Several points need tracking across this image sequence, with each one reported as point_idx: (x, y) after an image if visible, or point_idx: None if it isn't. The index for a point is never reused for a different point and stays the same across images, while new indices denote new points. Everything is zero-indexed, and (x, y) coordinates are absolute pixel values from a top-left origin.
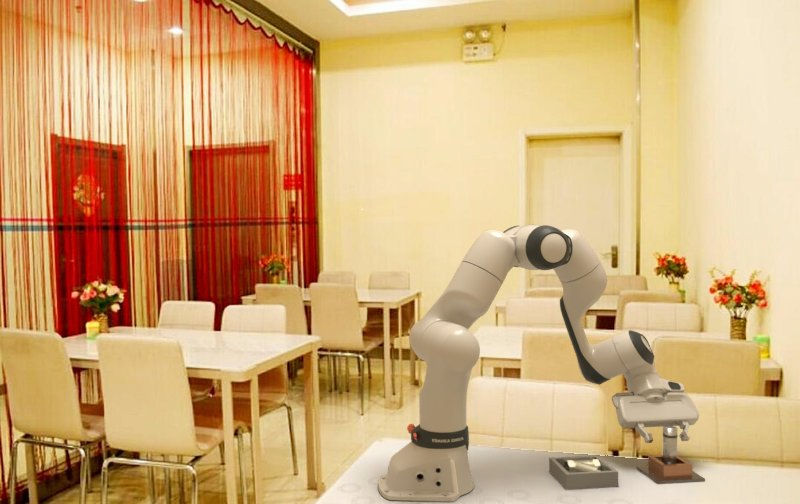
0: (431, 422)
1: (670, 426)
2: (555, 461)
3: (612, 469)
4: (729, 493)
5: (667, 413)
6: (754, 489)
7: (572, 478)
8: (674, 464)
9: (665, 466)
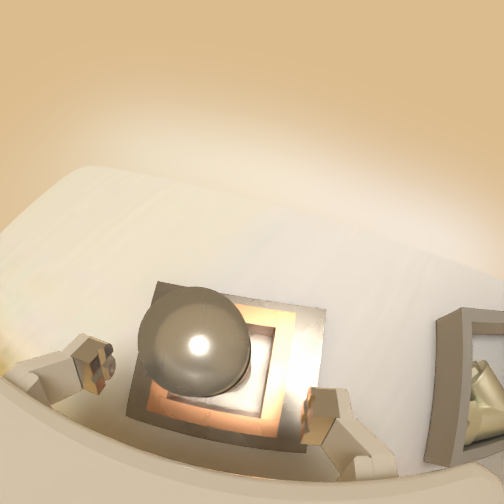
0: None
1: (166, 364)
2: None
3: (468, 329)
4: (172, 201)
5: (68, 475)
6: (100, 206)
7: None
8: None
9: (287, 312)
